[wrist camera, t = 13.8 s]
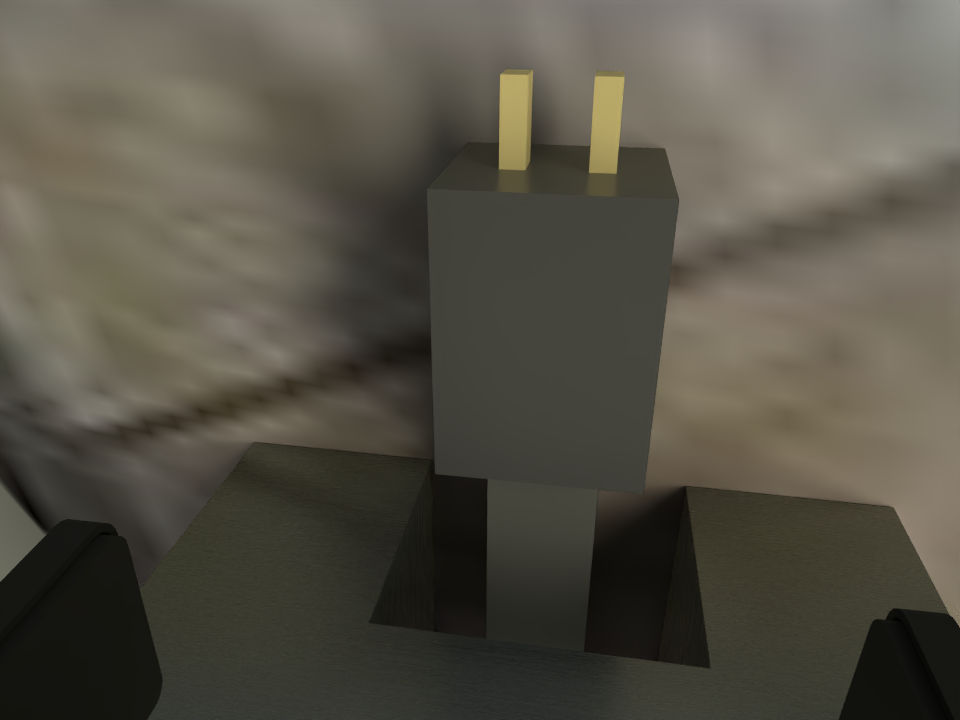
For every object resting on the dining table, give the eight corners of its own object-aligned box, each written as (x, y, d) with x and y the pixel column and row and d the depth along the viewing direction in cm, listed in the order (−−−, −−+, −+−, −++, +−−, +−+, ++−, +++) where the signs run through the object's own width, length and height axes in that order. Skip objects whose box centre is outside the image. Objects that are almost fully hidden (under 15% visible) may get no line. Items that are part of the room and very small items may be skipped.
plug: (673, 63, 18) (692, 90, 14) (600, 736, 29) (597, 872, 25) (468, 60, 19) (424, 84, 15) (471, 718, 30) (446, 846, 25)
